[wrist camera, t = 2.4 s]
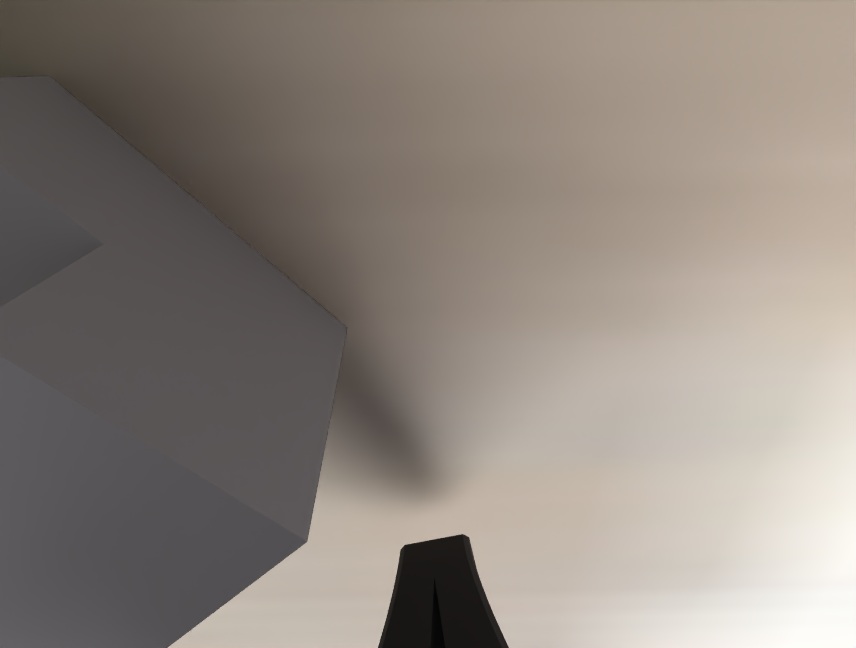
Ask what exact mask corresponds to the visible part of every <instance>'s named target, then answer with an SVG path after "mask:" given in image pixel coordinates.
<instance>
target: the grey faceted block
mask: <svg viewBox="0 0 856 648" xmlns="http://www.w3.org/2000/svg"><path fill="white" fill-rule="evenodd" d="M346 332H347V327H345V326H344V325H343V324H342V323H341V322H340V321H338V320H337V319H336V318H335V317H334V316H332V315H331V314H330V313H329V312H328V311H327V310H325V309H324V308H323V307H322V306H321V305H319V304H318V303H317V302H316V301H315V300H314V299H312V298H311V297H310V296H309V295H308V294H306V293H305V292H304V291H303V290H302V289H301V288H299V287H298V286H297V285H296V284H295V283H293V282H292V281H291V280H290V279H289V278H288V277H286V276H285V275H284V274H283V273H282V272H280V271H279V270H278V269H277V268H276V267H275V266H273V265H272V264H271V263H270V262H269V261H267V260H266V259H265V258H264V257H263V256H262V255H260V254H259V253H258V252H257V251H256V250H255V249H253V248H252V247H251V246H250V245H249V244H247V243H246V242H245V241H244V240H243V239H242V238H240V237H239V236H238V235H237V234H236V233H234V232H233V231H232V230H231V229H230V228H229V227H227V226H226V225H225V224H224V223H223V222H221V221H220V220H219V219H218V218H217V217H216V216H214V215H213V214H212V213H211V212H210V211H208V210H207V209H206V208H205V207H204V206H203V205H201V204H200V203H199V202H198V201H197V200H195V199H194V198H193V197H192V196H191V195H190V194H188V193H187V192H186V191H185V190H184V189H182V188H181V187H180V186H179V185H178V184H177V183H175V182H174V181H173V180H172V179H171V178H169V177H168V176H167V175H166V174H165V173H164V172H162V171H161V170H160V169H159V168H158V167H156V166H155V165H154V164H153V163H152V162H151V161H149V160H148V159H147V158H146V157H145V156H143V155H142V154H141V153H140V152H139V151H138V150H136V149H135V148H134V147H133V146H132V145H130V144H129V143H128V142H127V141H126V140H125V139H123V138H122V137H121V136H120V135H119V134H117V133H116V132H115V131H114V130H113V129H112V128H110V127H109V126H108V125H107V124H106V123H104V122H103V121H102V120H101V119H100V118H99V117H97V116H96V115H95V114H94V113H93V112H92V111H90V110H89V109H88V108H87V107H86V106H84V105H83V104H82V103H81V102H80V101H79V100H77V99H76V98H75V97H74V96H73V95H71V94H70V93H69V92H68V91H67V90H66V89H64V88H63V87H62V86H61V85H60V84H58V83H57V82H56V81H55V80H54V79H53V78H51V77H50V76H28V77H0V648H167V647H169V646H170V645H171V644H173V643H174V642H175V641H177V640H178V639H179V638H181V637H182V636H183V635H185V634H186V633H187V632H189V631H190V630H191V629H193V628H194V627H195V626H196V625H198V624H199V623H200V622H202V621H203V620H204V619H206V618H207V617H208V616H210V615H211V614H212V613H214V612H215V611H216V610H218V609H219V608H220V607H222V606H223V605H224V604H226V603H227V602H228V601H229V600H231V599H232V598H233V597H235V596H236V595H237V594H239V593H240V592H241V591H243V590H244V589H245V588H247V587H248V586H249V585H251V584H252V583H253V582H255V581H256V580H257V579H259V578H260V577H261V576H262V575H264V574H265V573H266V572H268V571H269V570H270V569H272V568H273V567H274V566H276V565H277V564H278V563H280V562H281V561H282V560H284V559H285V558H286V557H288V556H289V555H290V554H292V553H293V552H294V551H295V550H297V549H298V548H299V547H301V546H302V545H303V544H305V543H306V542H307V540H308V535H309V529H310V524H311V519H312V513H313V508H314V503H315V498H316V492H317V487H318V482H319V476H320V471H321V466H322V460H323V455H324V450H325V444H326V439H327V434H328V428H329V423H330V418H331V412H332V407H333V402H334V396H335V391H336V386H337V380H338V375H339V370H340V364H341V359H342V354H343V348H344V343H345V338H346Z"/></svg>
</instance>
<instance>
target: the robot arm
mask: <svg viewBox="0 0 856 648" xmlns="http://www.w3.org/2000/svg"><path fill="white" fill-rule="evenodd" d="M378 648H509V647H508V645H507V643H506V641H505V639H504V636H503V634H502V632H501V630H500V628H499V625H498V623H497V621H496V619H495V617H494V614H493V612H492V609H491V607H490V605H489V602H488V600H487V597H486V594H485V592H484V589H483V587H482V584H481V581H480V578H479V575H478V572H477V569H476V565H475V560H474V556H473V552H472V548H471V544H470V540H469V537H467V536H465V535H463V534H461V535H456V536H451V537H445V538H440V539H435V540H429V541H424V542H419V543H413V544H408V545H404V547H403V548H402V549H401V551H400V558H399V564H398V570H397V575H396V580H395V585H394V589H393V594H392V598H391V602H390V606H389V610H388V614H387V618H386V622H385V625H384V629H383V632H382V636H381V639H380V643H379V646H378Z"/></svg>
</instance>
